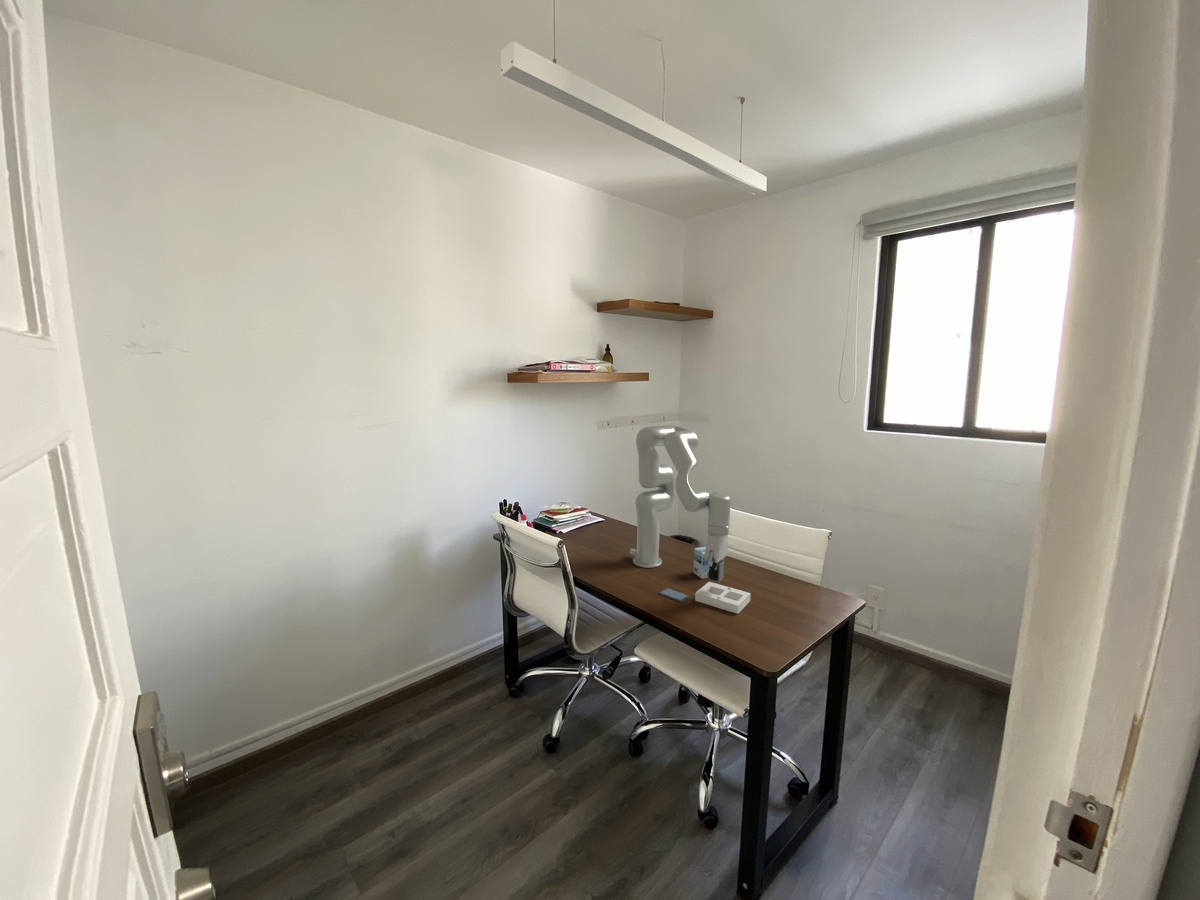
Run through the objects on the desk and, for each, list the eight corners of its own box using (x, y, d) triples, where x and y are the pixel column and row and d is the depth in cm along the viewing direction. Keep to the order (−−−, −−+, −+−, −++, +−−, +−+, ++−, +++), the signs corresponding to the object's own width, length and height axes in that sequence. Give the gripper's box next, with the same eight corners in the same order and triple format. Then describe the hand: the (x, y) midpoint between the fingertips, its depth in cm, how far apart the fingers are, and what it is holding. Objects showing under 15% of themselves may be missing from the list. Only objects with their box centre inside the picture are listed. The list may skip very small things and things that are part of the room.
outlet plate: (694, 600, 173) (695, 592, 172) (708, 588, 183) (709, 581, 182) (737, 613, 164) (738, 605, 163) (750, 601, 173) (750, 592, 173)
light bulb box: (701, 579, 191) (703, 553, 190) (692, 572, 197) (693, 547, 196) (723, 575, 195) (725, 550, 194) (714, 569, 201) (715, 544, 200)
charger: (708, 579, 173) (709, 560, 172) (713, 575, 176) (713, 557, 175) (719, 582, 171) (720, 563, 170) (723, 578, 174) (724, 559, 173)
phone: (658, 595, 178) (658, 592, 178) (667, 590, 182) (667, 587, 182) (680, 603, 171) (681, 601, 171) (689, 598, 176) (689, 595, 176)
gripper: (717, 521, 180) (715, 567, 182) (698, 532, 166) (696, 582, 169) (737, 525, 175) (734, 572, 178) (719, 537, 162) (716, 588, 165)
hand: (715, 576), depth 174 cm, fingers closed on charger, 4 cm apart
